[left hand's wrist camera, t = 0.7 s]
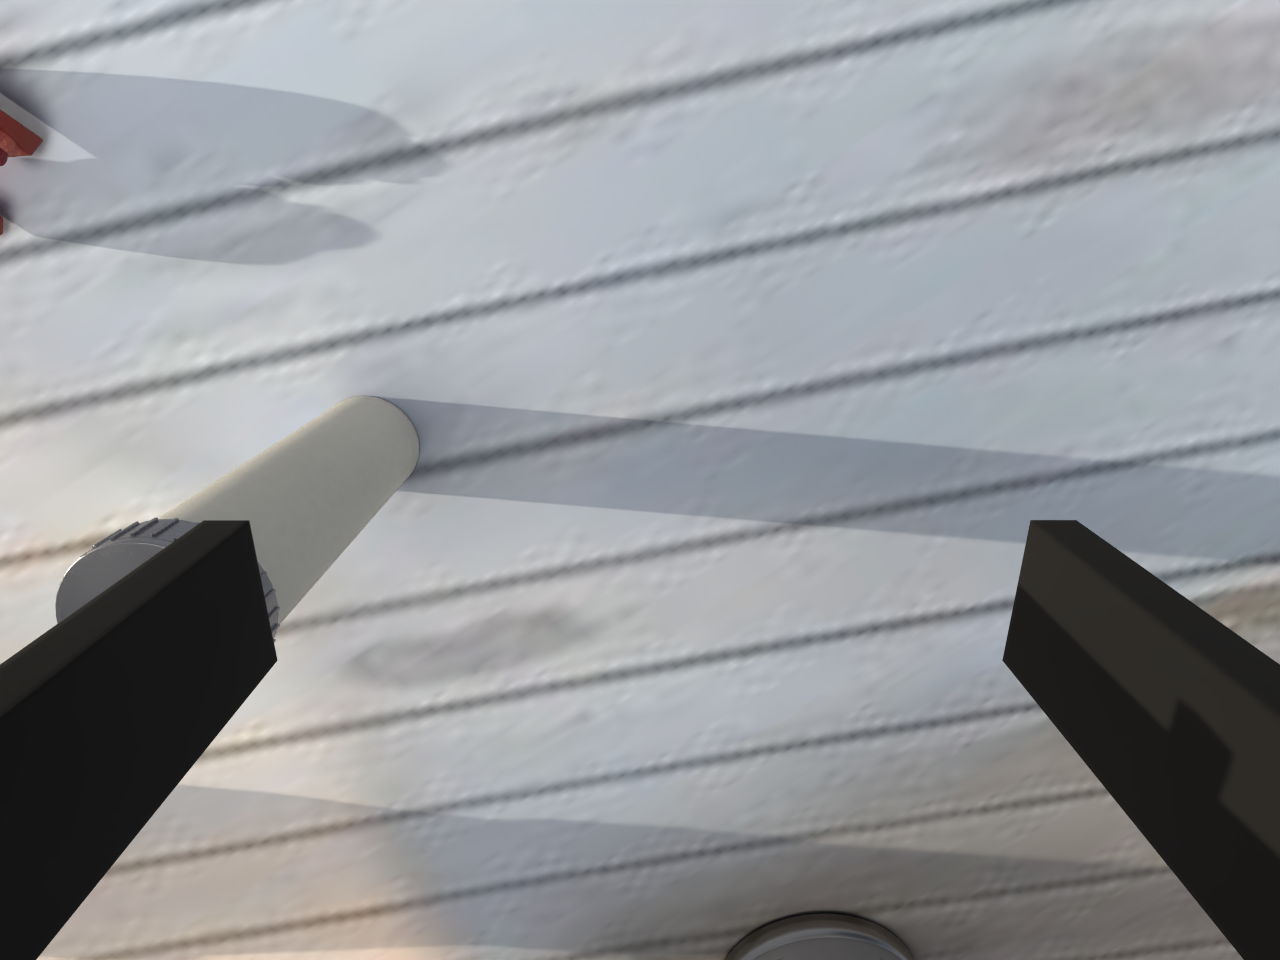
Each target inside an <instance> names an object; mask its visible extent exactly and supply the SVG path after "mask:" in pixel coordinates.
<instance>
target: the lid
mask: <svg viewBox="0 0 1280 960" xmlns="http://www.w3.org/2000/svg"><path fill="white" fill-rule="evenodd" d="M198 524H199V522H196V523H195V522H190V521H185V520H179V518H174V519H158V518H154V519H152V520H151V521H145V522H142V523H139V522H138V521H137V522H135V523H133V524H131V525H130V526H128V527H127V528H125V529H123V530H121V529H120V530H118V531H116V532H115V533H113V534H111V535H110V536H108V537H107V538H105V539H103V540H102V541H100V542H98V543H97V544H95V545H94V546H92V547H93V549H92V550H90V551H88V552H87V553H85V554H83V555H82V556H80V557H79V558H78V560H77V561H76V562H75V563H74V564H72V565H71V567H70V568H69V569H68V571H67V572H66V573H65V575H64V577H63V579H62V581H61V583H60V585H59V589H58V592H57V597H56V618H57V623H60V622H61V621H63V620H64V619H65V618H67V617H68V616H70V615H71V614H72V613H74V612H75V611H77V610H78V609H79V608H81V607H82V606H84V605H85V604H87V603H88V602H89V601H91V600H92V599H94V598H95V597H96V596H98V595H99V594H101V593H102V592H103V591H105V590H106V589H108V588H109V587H110V586H112V585H113V584H115V583H116V582H118V581H119V580H120V579H122V578H123V577H125V576H126V575H127V574H129V573H130V572H132V571H133V570H134V569H136V568H137V567H139V566H140V565H142V564H143V563H144V562H146V561H147V560H149V559H150V558H151V557H153V556H154V555H156V554H157V553H158V552H160V551H161V550H163V549H164V548H165V547H167V546H168V545H170V544H171V543H173V542H174V541H175V540H177V539H178V538H180V537H181V536H182V535H184V534H185V533H187V532H188V531H189V530H191V529H192V528H194V527H195V526H196V525H198ZM258 566H259V571H260V576H261V581H262V586H263V591H264V596H265V601H266V606H267V611H268V616H269V621H270V626H271V631H272V636H273V641H274V642H275V641H276V640H275V639H274V637H275V635H276V631H277V629H278V627H279V626H280V624H279V623H278V617H279V610H280V607H279V606H278V602H277V598H276V594H275V592H276V591H275V589H274V588H273V586H272V583H271V581H270V579H269V578H268V576H267V572H265V571H264V569H263V568H262V567H261V565H260V564H259V563H258Z"/></svg>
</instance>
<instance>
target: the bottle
mask: <svg viewBox="0 0 1280 960" xmlns="http://www.w3.org/2000/svg"><path fill="white" fill-rule="evenodd" d="M418 458H419V440H418V436H417V433H416V430H415V428H414V426H413V424H412V423H411V421H410V420H409V418H408V417H407V416H406V415H405V414H404V413H403V412H402V411H401V410H400V409H399V408H397V407H396V406H394V405H393V404H391V403H389V402H387V401H385V400H383V399H380V398H376V397H371V396H357V397H352V398H348V399H346V400H343V401H341V402H340V403H338V404H336V405H335V406H333V407H332V408H330V409H329V410H327V411H326V412H324V413H322V414H321V415H319V416H318V417H316V418H315V419H313V420H311V421H310V422H308V423H307V424H305V425H304V426H302V427H300V428H299V429H297V430H296V431H294V432H293V433H291V434H289V435H288V436H286V437H285V438H283V439H282V440H280V441H279V442H277V443H275V444H274V445H272V446H271V447H269V448H268V449H266V450H264V451H263V452H261V453H260V454H258V455H257V456H255V457H253V458H252V459H250V460H249V461H247V462H246V463H244V464H242V465H241V466H239V467H238V468H236V469H235V470H233V471H232V472H230V473H228V474H227V475H225V476H224V477H222V478H221V479H219V480H217V481H216V482H214V483H213V484H211V485H210V486H208V487H206V488H205V489H203V490H202V491H200V492H199V493H197V494H195V495H194V496H192V497H191V498H189V499H188V500H186V501H185V502H183V503H181V504H180V505H178V506H177V507H175V508H174V509H172V510H170V511H169V512H167V513H166V514H164V515H163V516H161V517H159V518H158V519H174V518H179V520H185V521H190V522H195V523H196V522H199V523H201V522H202V521H204V520H249V521H250V526H251V531H252V536H253V541H254V546H255V551H256V556H257V561H258V563H259V564H260V565H261V567H262V568H263V569H264V571H265V572H267V576H268V578H269V579H270V581H271V583H272V586H273V588H274V589H275V591H276V592H275V594H276V598H277V602H278V606H279V607H280V610H279V617H278V623H279V624H281V622H282V621H283V620H284V619H285V618H286V617H287V615H288V614H289V613H290V612H291V611H292V610H293V609H294V607H295V606H296V605H297V604H298V603H299V602H300V601H301V599H302V598H303V597H304V596H305V595H306V594H307V593H308V591H309V590H310V589H311V588H312V587H313V586H314V584H315V583H316V582H317V581H318V580H319V579H320V578H321V576H322V575H323V574H324V573H325V572H326V571H327V570H328V568H329V567H330V566H331V565H332V564H333V563H334V562H335V560H336V559H337V558H338V557H339V556H340V555H341V553H342V552H343V551H344V550H345V549H346V548H347V547H348V545H349V544H350V543H351V542H352V541H353V540H354V539H355V537H356V536H357V535H358V534H359V533H360V532H361V531H362V529H363V528H364V527H365V526H366V525H367V524H368V522H369V521H370V520H371V519H372V518H373V517H374V516H375V514H376V513H377V512H378V511H379V510H380V509H381V508H382V506H383V505H384V504H385V503H386V502H387V501H388V500H389V498H390V497H391V496H392V495H393V494H394V493H395V491H396V490H397V489H398V488H399V487H400V486H401V485H402V483H403V482H404V481H405V480H406V479H407V478H408V477H409V475H410V474H411V473H412V472H413V470H414V468H415V466H416V464H417V461H418Z"/></svg>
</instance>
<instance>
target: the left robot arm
mask: <svg viewBox="0 0 1280 960" xmlns="http://www.w3.org/2000/svg"><path fill="white" fill-rule="evenodd" d="M276 662H277V656H276V651H275V646H274V641H273V636H272V631H271V626H270V621H269V616H268V611H267V606H266V601H265V596H264V591H263V586H262V581H261V576H260V571H259V566H258V561H257V556H256V551H255V546H254V541H253V536H252V531H251V526H250V521H249V520H204V521H202V522H201V523H199V524H198V525H196V526H195V527H194V528H192V529H191V530H189V531H188V532H187V533H185V534H184V535H182V536H181V537H180V538H178V539H177V540H175V541H174V542H173V543H171V544H170V545H168V546H167V547H165V548H164V549H163V550H161V551H160V552H158V553H157V554H156V555H154V556H153V557H151V558H150V559H149V560H147V561H146V562H144V563H143V564H142V565H140V566H139V567H137V568H136V569H134V570H133V571H132V572H130V573H129V574H127V575H126V576H125V577H123V578H122V579H120V580H119V581H118V582H116V583H115V584H113V585H112V586H110V587H109V588H108V589H106V590H105V591H103V592H102V593H101V594H99V595H98V596H96V597H95V598H94V599H92V600H91V601H89V602H88V603H87V604H85V605H84V606H82V607H81V608H79V609H78V610H77V611H75V612H74V613H72V614H71V615H70V616H68V617H67V618H65V619H64V620H63V621H61V622H60V623H58V624H57V625H56V626H54V627H53V628H51V629H50V630H48V631H47V632H46V633H44V634H43V635H41V636H40V637H39V638H37V639H36V640H34V641H33V642H32V643H30V644H29V645H27V646H26V647H25V648H23V649H22V650H20V651H19V652H17V653H16V654H15V655H13V656H12V657H10V658H9V659H8V660H6V661H5V662H3V663H2V664H1V665H0V960H36V959H37V958H38V957H39V955H40V954H41V953H42V952H43V950H44V949H45V948H46V947H47V945H48V944H49V943H50V942H51V941H52V939H53V938H54V937H55V936H56V934H57V933H58V932H59V931H60V929H61V928H62V927H63V926H64V924H65V923H66V922H67V921H68V919H69V918H70V917H71V916H72V914H73V913H74V912H75V911H76V910H77V908H78V907H79V906H80V905H81V903H82V902H83V901H84V900H85V898H86V897H87V896H88V895H89V893H90V892H91V891H92V890H93V888H94V887H95V886H96V885H97V883H98V882H99V881H100V880H101V879H102V877H103V876H104V875H105V874H106V872H107V871H108V870H109V869H110V867H111V866H112V865H113V864H114V862H115V861H116V860H117V859H118V857H119V856H120V855H121V854H122V852H123V851H124V850H125V849H126V848H127V846H128V845H129V844H130V843H131V841H132V840H133V839H134V838H135V836H136V835H137V834H138V833H139V831H140V830H141V829H142V828H143V826H144V825H145V824H146V823H147V821H148V820H149V819H150V818H151V817H152V815H153V814H154V813H155V812H156V810H157V809H158V808H159V807H160V805H161V804H162V803H163V802H164V800H165V799H166V798H167V797H168V795H169V794H170V793H171V792H172V790H173V789H174V788H175V787H176V786H177V784H178V783H179V782H180V781H181V779H182V778H183V777H184V776H185V774H186V773H187V772H188V771H189V769H190V768H191V767H192V766H193V764H194V763H195V762H196V761H197V759H198V758H199V757H200V756H201V755H202V753H203V752H204V751H205V750H206V748H207V747H208V746H209V745H210V743H211V742H212V741H213V740H214V738H215V737H216V736H217V735H218V733H219V732H220V731H221V730H222V728H223V727H224V726H225V725H226V724H227V722H228V721H229V720H230V719H231V717H232V716H233V715H234V714H235V712H236V711H237V710H238V709H239V707H240V706H241V705H242V704H243V702H244V701H245V700H246V699H247V697H248V696H249V695H250V694H251V693H252V691H253V690H254V689H255V688H256V686H257V685H258V684H259V683H260V681H261V680H262V679H263V678H264V676H265V675H266V674H267V673H268V671H269V670H270V669H271V668H272V666H273V665H274V664H275V663H276ZM1003 662H1004V663H1005V664H1006V665H1007V666H1008V668H1009V669H1010V670H1011V671H1012V673H1013V674H1014V675H1015V676H1016V678H1017V679H1018V680H1019V681H1020V683H1021V684H1022V685H1023V686H1024V688H1025V689H1026V690H1027V691H1028V693H1029V694H1030V695H1031V696H1032V697H1033V699H1034V700H1035V701H1036V702H1037V704H1038V705H1039V706H1040V707H1041V709H1042V710H1043V711H1044V712H1045V714H1046V715H1047V716H1048V717H1049V719H1050V720H1051V721H1052V722H1053V724H1054V725H1055V726H1056V727H1057V728H1058V730H1059V731H1060V732H1061V733H1062V735H1063V736H1064V737H1065V738H1066V740H1067V741H1068V742H1069V743H1070V745H1071V746H1072V747H1073V748H1074V750H1075V751H1076V752H1077V753H1078V755H1079V756H1080V757H1081V758H1082V759H1083V761H1084V762H1085V763H1086V764H1087V766H1088V767H1089V768H1090V769H1091V771H1092V772H1093V773H1094V774H1095V776H1096V777H1097V778H1098V779H1099V781H1100V782H1101V783H1102V784H1103V786H1104V787H1105V788H1106V789H1107V790H1108V792H1109V793H1110V794H1111V795H1112V797H1113V798H1114V799H1115V800H1116V802H1117V803H1118V804H1119V805H1120V807H1121V808H1122V809H1123V810H1124V812H1125V813H1126V814H1127V815H1128V817H1129V818H1130V819H1131V820H1132V821H1133V823H1134V824H1135V825H1136V826H1137V828H1138V829H1139V830H1140V831H1141V833H1142V834H1143V835H1144V836H1145V838H1146V839H1147V840H1148V841H1149V843H1150V844H1151V845H1152V846H1153V848H1154V849H1155V850H1156V851H1157V852H1158V854H1159V855H1160V856H1161V857H1162V859H1163V860H1164V861H1165V862H1166V864H1167V865H1168V866H1169V867H1170V869H1171V870H1172V871H1173V872H1174V874H1175V875H1176V876H1177V877H1178V879H1179V880H1180V881H1181V882H1182V883H1183V885H1184V886H1185V887H1186V888H1187V890H1188V891H1189V892H1190V893H1191V895H1192V896H1193V897H1194V898H1195V900H1196V901H1197V902H1198V903H1199V905H1200V906H1201V907H1202V908H1203V910H1204V911H1205V912H1206V913H1207V914H1208V916H1209V917H1210V918H1211V919H1212V921H1213V922H1214V923H1215V924H1216V926H1217V927H1218V928H1219V929H1220V931H1221V932H1222V933H1223V934H1224V936H1225V937H1226V938H1227V939H1228V941H1229V942H1230V943H1231V944H1232V945H1233V947H1234V948H1235V949H1236V950H1237V952H1238V953H1239V954H1240V955H1241V957H1242V958H1243V959H1244V960H1280V665H1279V664H1278V663H1277V662H1275V661H1274V660H1272V659H1271V658H1270V657H1268V656H1267V655H1265V654H1264V653H1263V652H1261V651H1260V650H1258V649H1257V648H1255V647H1254V646H1253V645H1251V644H1250V643H1248V642H1247V641H1246V640H1244V639H1243V638H1241V637H1240V636H1239V635H1237V634H1236V633H1234V632H1233V631H1232V630H1230V629H1229V628H1227V627H1226V626H1224V625H1223V624H1222V623H1220V622H1219V621H1217V620H1216V619H1215V618H1213V617H1212V616H1210V615H1209V614H1208V613H1206V612H1205V611H1203V610H1202V609H1201V608H1199V607H1198V606H1196V605H1195V604H1193V603H1192V602H1191V601H1189V600H1188V599H1186V598H1185V597H1184V596H1182V595H1181V594H1179V593H1178V592H1177V591H1175V590H1174V589H1172V588H1171V587H1170V586H1168V585H1167V584H1165V583H1164V582H1162V581H1161V580H1160V579H1158V578H1157V577H1155V576H1154V575H1153V574H1151V573H1150V572H1148V571H1147V570H1146V569H1144V568H1143V567H1141V566H1140V565H1138V564H1137V563H1136V562H1134V561H1133V560H1131V559H1130V558H1129V557H1127V556H1126V555H1124V554H1123V553H1122V552H1120V551H1119V550H1117V549H1116V548H1115V547H1113V546H1112V545H1110V544H1109V543H1107V542H1106V541H1105V540H1103V539H1102V538H1100V537H1099V536H1098V535H1096V534H1095V533H1093V532H1092V531H1091V530H1089V529H1088V528H1086V527H1085V526H1084V525H1082V524H1081V523H1079V522H1078V521H1076V520H1031V521H1030V526H1029V531H1028V536H1027V541H1026V546H1025V551H1024V556H1023V561H1022V566H1021V571H1020V576H1019V581H1018V586H1017V591H1016V596H1015V601H1014V606H1013V611H1012V616H1011V621H1010V626H1009V631H1008V636H1007V641H1006V646H1005V651H1004V656H1003ZM725 960H913V958H912V956H911V954H910V952H909V951H908V949H907V948H906V947H905V945H904V944H903V943H902V942H901V941H900V940H899V939H898V938H897V937H896V936H895V935H893V934H892V933H890V932H889V931H888V930H886V929H884V928H883V927H881V926H879V925H877V924H874V923H872V922H869V921H867V920H864V919H860V918H857V917H852V916H847V915H839V914H809V915H801V916H796V917H791V918H787V919H783V920H780V921H777V922H774V923H772V924H770V925H767V926H765V927H763V928H761V929H759V930H757V931H755V932H754V933H752V934H751V935H749V936H748V937H746V938H745V939H744V940H742V941H741V942H740V943H739V944H738V945H737V946H735V947H734V949H733V950H732V951H731V952H730V953H729V954H728V956H727V957H726V958H725Z"/></svg>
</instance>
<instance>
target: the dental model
mask: <svg viewBox="0 0 1280 960" xmlns="http://www.w3.org/2000/svg"><path fill="white" fill-rule="evenodd" d="M42 141H43V140H42V139H41V138H40V137H39V136H37V135H36V134H34V133H33V132H32V131H30V130H29V129H27V128H26V127H24V126H23V125H22V124H20V123H19V122H17V121H16V120H14V119H13V118H11V117H10V116H9V115H7V114H6V113H4V112H3V111H1V110H0V166H3V165H4V164H5V163H6V161H7V157H17V156H28V155H32V154H33V153H34V151H35V150H36V149H37V148H38V146H39V145H40V144H41V143H42ZM1 234H3V218H2V217H0V235H1Z"/></svg>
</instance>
